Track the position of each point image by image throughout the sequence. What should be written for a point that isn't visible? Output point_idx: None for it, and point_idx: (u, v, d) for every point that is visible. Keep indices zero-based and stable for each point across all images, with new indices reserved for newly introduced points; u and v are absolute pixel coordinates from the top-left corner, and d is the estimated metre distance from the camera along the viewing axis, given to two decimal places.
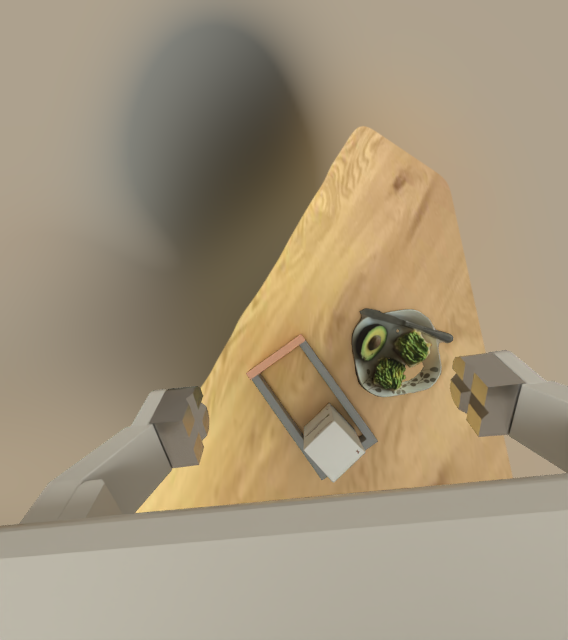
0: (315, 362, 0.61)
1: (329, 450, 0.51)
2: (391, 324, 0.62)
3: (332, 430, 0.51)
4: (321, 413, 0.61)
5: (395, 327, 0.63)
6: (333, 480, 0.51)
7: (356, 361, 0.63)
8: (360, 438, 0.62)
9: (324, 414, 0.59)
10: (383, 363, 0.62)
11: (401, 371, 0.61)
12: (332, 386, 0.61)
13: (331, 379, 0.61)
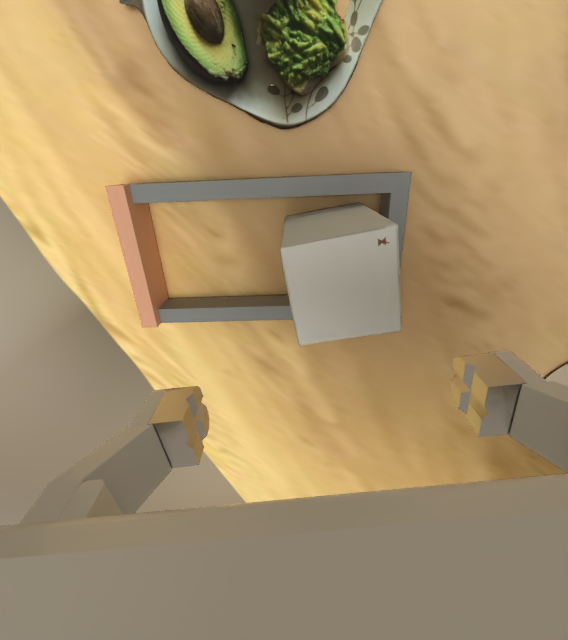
0: (185, 193, 0.27)
1: (335, 300, 0.21)
2: None
3: (298, 266, 0.20)
4: None
5: None
6: (397, 328, 0.21)
7: (234, 101, 0.26)
8: (383, 202, 0.29)
9: None
10: (270, 32, 0.23)
11: None
12: (250, 192, 0.27)
13: (235, 184, 0.27)
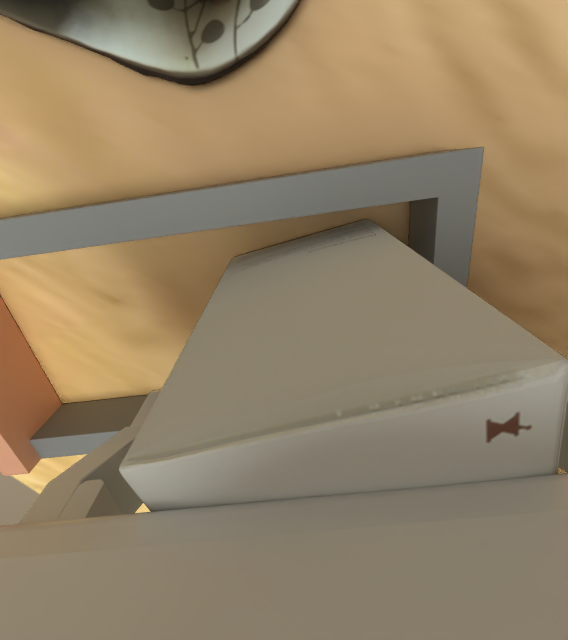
0: (10, 242, 0.13)
1: None
2: None
3: None
4: None
5: None
6: None
7: (74, 33, 0.12)
8: (417, 215, 0.15)
9: None
10: None
11: None
12: (139, 226, 0.13)
13: (104, 213, 0.13)
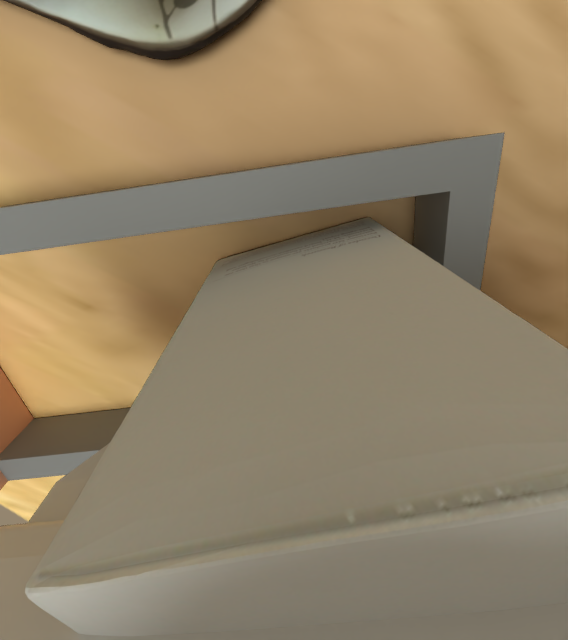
0: None
1: None
2: None
3: None
4: None
5: None
6: None
7: None
8: (423, 212, 0.13)
9: None
10: None
11: None
12: (106, 224, 0.11)
13: (64, 209, 0.11)
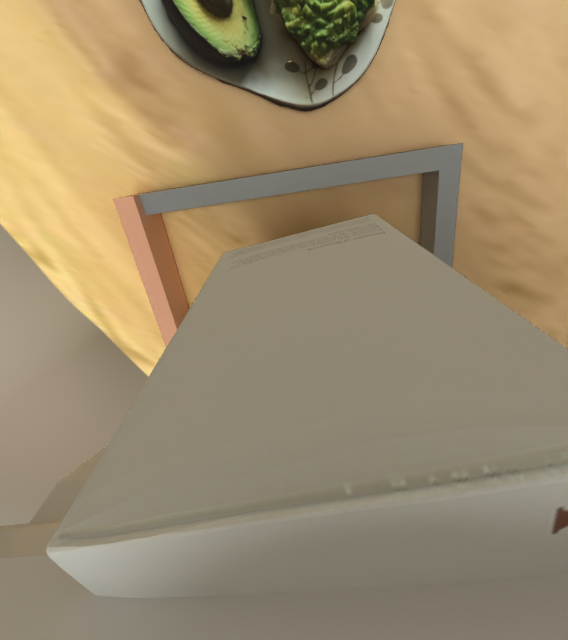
0: (203, 197, 0.24)
1: None
2: None
3: None
4: None
5: None
6: None
7: (248, 85, 0.22)
8: (427, 183, 0.25)
9: None
10: None
11: None
12: (276, 188, 0.23)
13: (258, 180, 0.23)
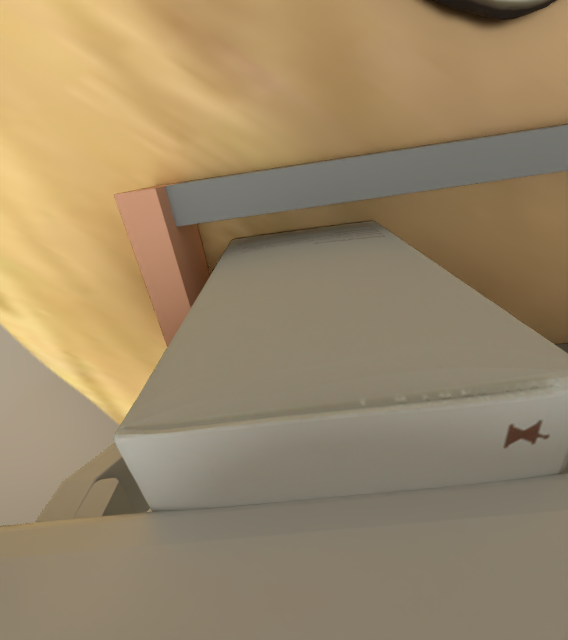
0: (292, 192, 0.12)
1: None
2: None
3: (190, 492, 0.05)
4: None
5: None
6: None
7: None
8: None
9: None
10: None
11: None
12: (439, 174, 0.12)
13: (406, 159, 0.12)
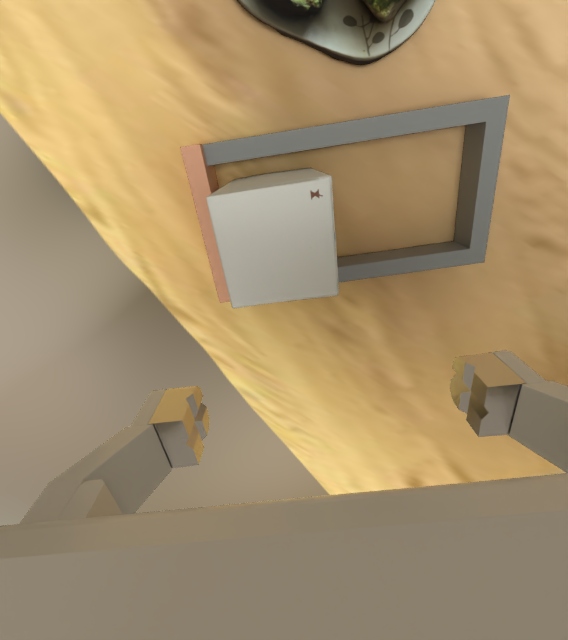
0: (263, 147, 0.25)
1: (268, 258, 0.19)
2: None
3: (226, 218, 0.18)
4: None
5: None
6: (334, 292, 0.21)
7: (310, 37, 0.23)
8: (470, 137, 0.27)
9: None
10: None
11: None
12: (333, 138, 0.25)
13: (317, 130, 0.25)
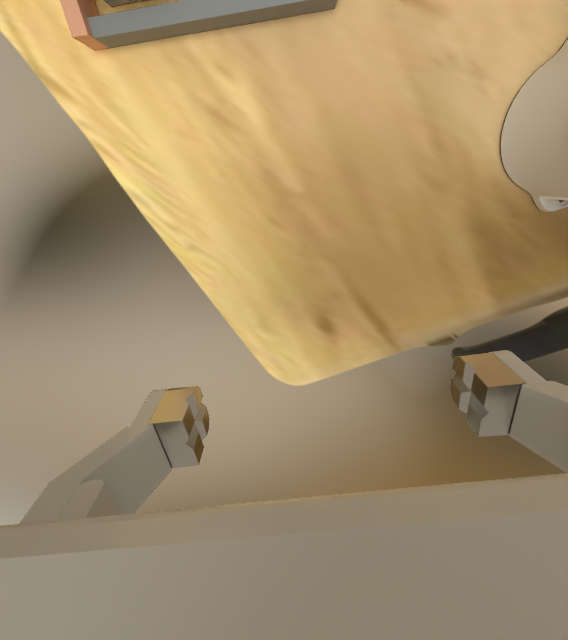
0: None
1: None
2: None
3: None
4: None
5: None
6: None
7: None
8: None
9: None
10: None
11: None
12: None
13: None
